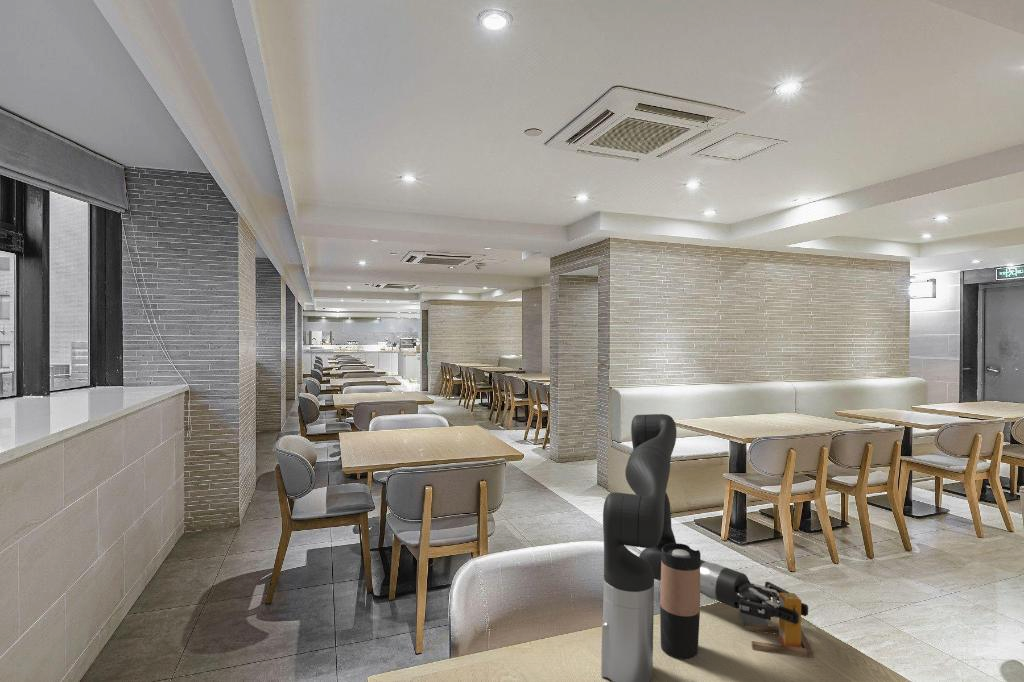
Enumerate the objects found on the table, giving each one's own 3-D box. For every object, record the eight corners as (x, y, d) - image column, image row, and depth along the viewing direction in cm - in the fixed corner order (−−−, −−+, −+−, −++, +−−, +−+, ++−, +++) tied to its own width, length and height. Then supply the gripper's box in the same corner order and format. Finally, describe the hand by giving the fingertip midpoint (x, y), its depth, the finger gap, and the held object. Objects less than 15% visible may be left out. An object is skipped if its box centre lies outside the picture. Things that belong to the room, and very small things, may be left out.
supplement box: (794, 639, 112) (795, 592, 111) (801, 649, 108) (802, 600, 108) (777, 638, 112) (778, 591, 112) (784, 648, 109) (785, 599, 108)
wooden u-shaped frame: (752, 649, 108) (752, 644, 108) (744, 626, 116) (744, 622, 116) (813, 657, 105) (814, 652, 105) (801, 634, 114) (801, 629, 114)
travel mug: (659, 657, 105) (661, 556, 105) (658, 635, 112) (660, 541, 112) (701, 663, 103) (703, 560, 103) (697, 641, 111) (699, 545, 110)
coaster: (744, 625, 117) (744, 622, 117) (740, 613, 122) (740, 610, 122) (768, 628, 116) (769, 625, 116) (763, 616, 121) (763, 613, 121)
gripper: (706, 576, 116) (789, 608, 103) (737, 559, 126) (816, 585, 113) (705, 611, 116) (788, 646, 103) (736, 590, 126) (815, 621, 113)
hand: (802, 614), depth 108 cm, fingers closed on supplement box, 4 cm apart
